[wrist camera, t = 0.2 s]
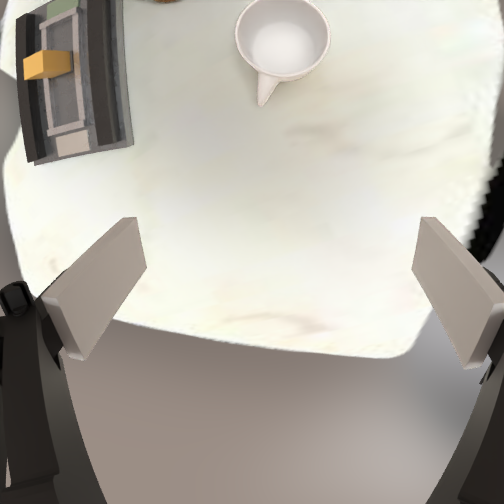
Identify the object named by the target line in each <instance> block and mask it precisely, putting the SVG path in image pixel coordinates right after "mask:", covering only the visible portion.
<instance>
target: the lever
mask: <svg viewBox="0 0 504 504" xmlns="http://www.w3.org/2000/svg"><path fill="white" fill-rule="evenodd" d="M23 63H24V80H32V79H45V78H50V79H54V78H56V77H59V76H61V75H64V74H67V73H70V72H72V71H74V56H73V51H57V50H41V51H39V52H37V53H35V54H33V55H31V56H29V57H27V58H25V59H23Z"/></svg>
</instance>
